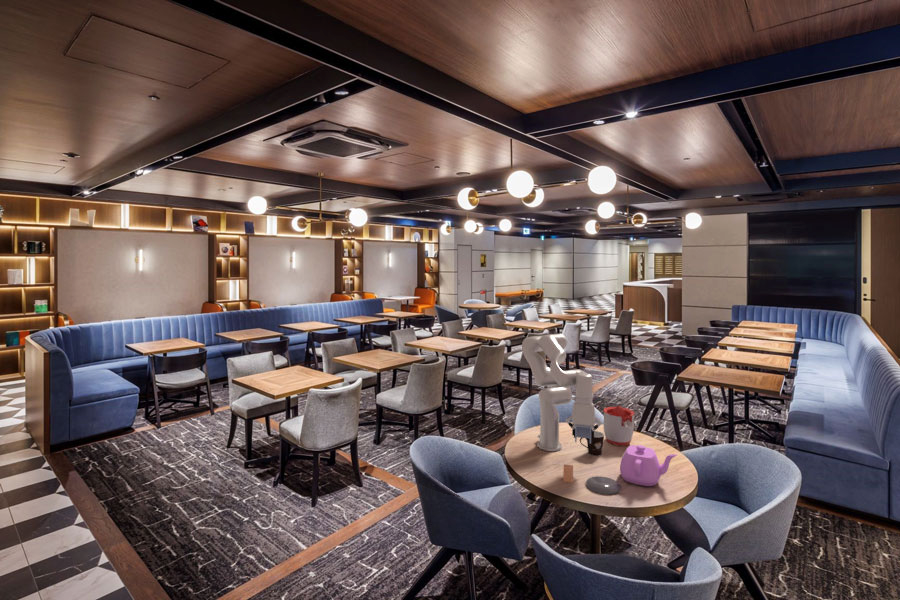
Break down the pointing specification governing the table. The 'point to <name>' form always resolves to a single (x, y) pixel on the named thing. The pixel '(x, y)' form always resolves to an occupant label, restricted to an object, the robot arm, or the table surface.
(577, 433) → the grey angular piece
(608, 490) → the charcoal dish
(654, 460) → the teapot
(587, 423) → the robot arm
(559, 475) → the table surface
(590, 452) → the coffee mug
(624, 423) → the red and white bucket
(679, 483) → the table surface
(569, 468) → the terracotta block
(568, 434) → the table surface
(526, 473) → the table surface
